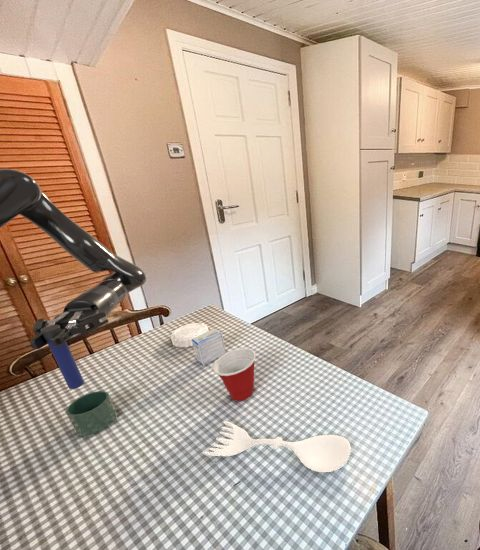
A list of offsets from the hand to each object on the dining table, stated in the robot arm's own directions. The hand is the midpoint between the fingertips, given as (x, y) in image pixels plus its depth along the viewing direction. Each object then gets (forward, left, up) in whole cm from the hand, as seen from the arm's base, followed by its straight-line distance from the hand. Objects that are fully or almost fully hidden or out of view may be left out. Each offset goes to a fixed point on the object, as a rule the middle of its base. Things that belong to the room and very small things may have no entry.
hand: (44, 344), depth 61 cm
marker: (0, +3, -13) cm, 13 cm away
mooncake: (+10, +42, -28) cm, 51 cm away
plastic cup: (+32, +8, -28) cm, 43 cm away
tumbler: (-2, +6, -28) cm, 28 cm away
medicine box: (+20, +28, -28) cm, 44 cm away
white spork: (+43, -13, -28) cm, 53 cm away
